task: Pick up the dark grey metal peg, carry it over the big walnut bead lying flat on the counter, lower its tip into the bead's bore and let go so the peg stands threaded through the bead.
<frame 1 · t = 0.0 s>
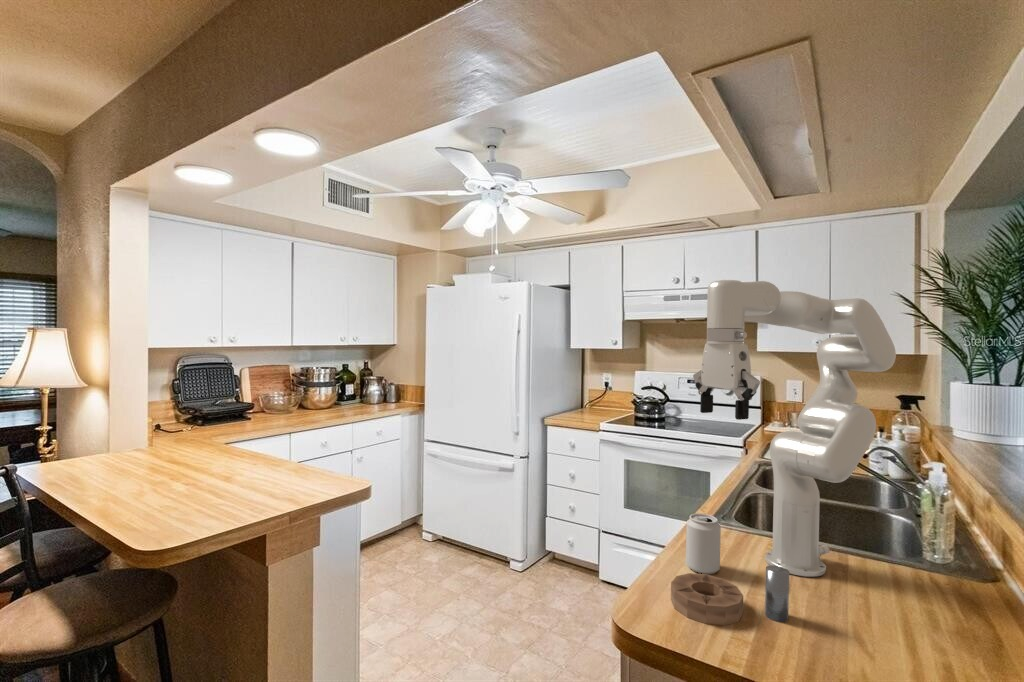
hand: (723, 415, 110), 37 cm above the worktop, tool pointing down, fingers open, 9 cm apart
peg: (776, 616, 97), on the worktop
can: (702, 569, 117), on the worktop
bead: (705, 606, 100), on the worktop
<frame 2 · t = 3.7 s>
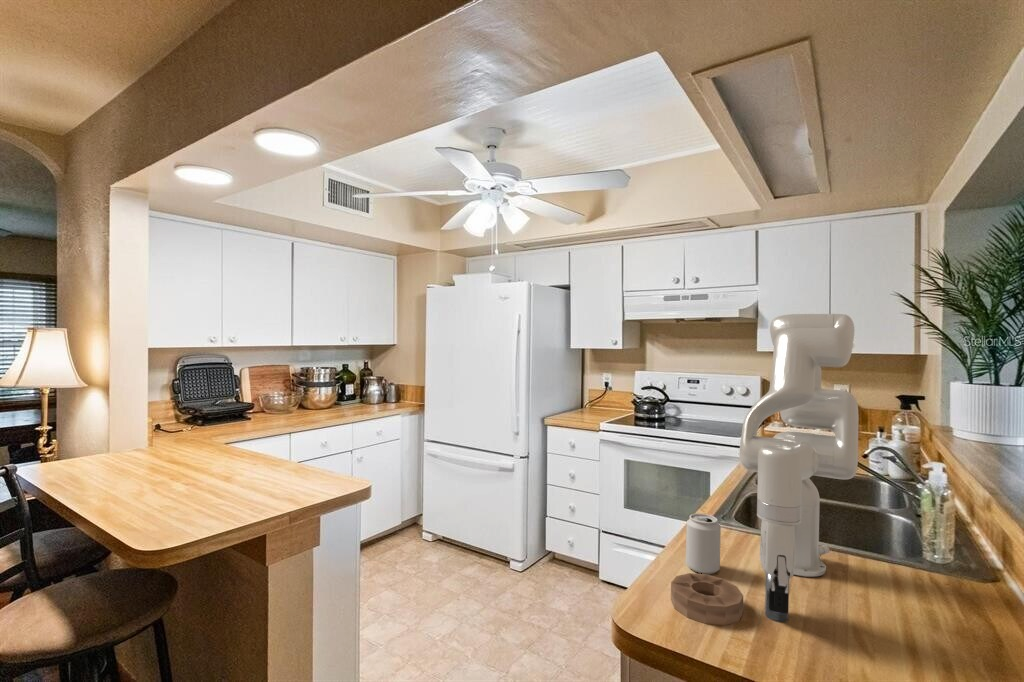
hand: (776, 604, 97), 2 cm above the worktop, tool pointing down, fingers closed on peg, 4 cm apart
peg: (776, 616, 97), on the worktop, touching gripper
everything else where it was.
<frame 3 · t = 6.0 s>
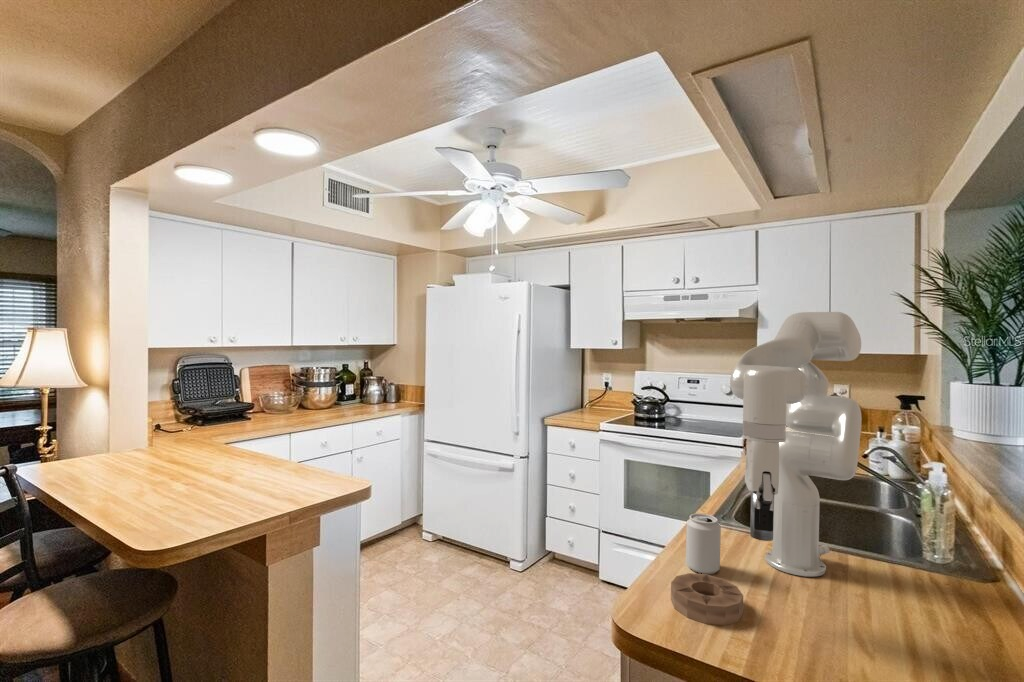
hand: (761, 524, 98), 17 cm above the worktop, tool pointing down, fingers closed on peg, 4 cm apart
peg: (761, 536, 98), point 15 cm above the worktop, touching gripper
everything else where it was.
when the fingers open (4 cm above the worktop, at t = 8.8 s): peg drops 2 cm, resting in bead.
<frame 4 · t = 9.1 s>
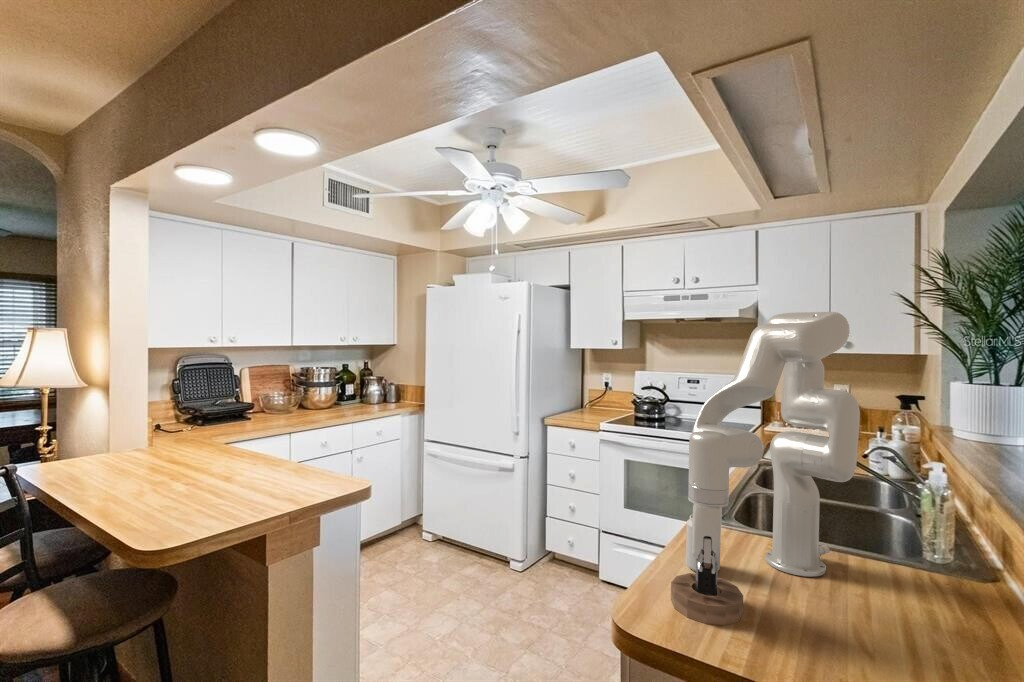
hand: (706, 582, 100), 5 cm above the worktop, tool pointing down, fingers open, 6 cm apart
peg: (706, 606, 100), resting in bead
everything else where it was.
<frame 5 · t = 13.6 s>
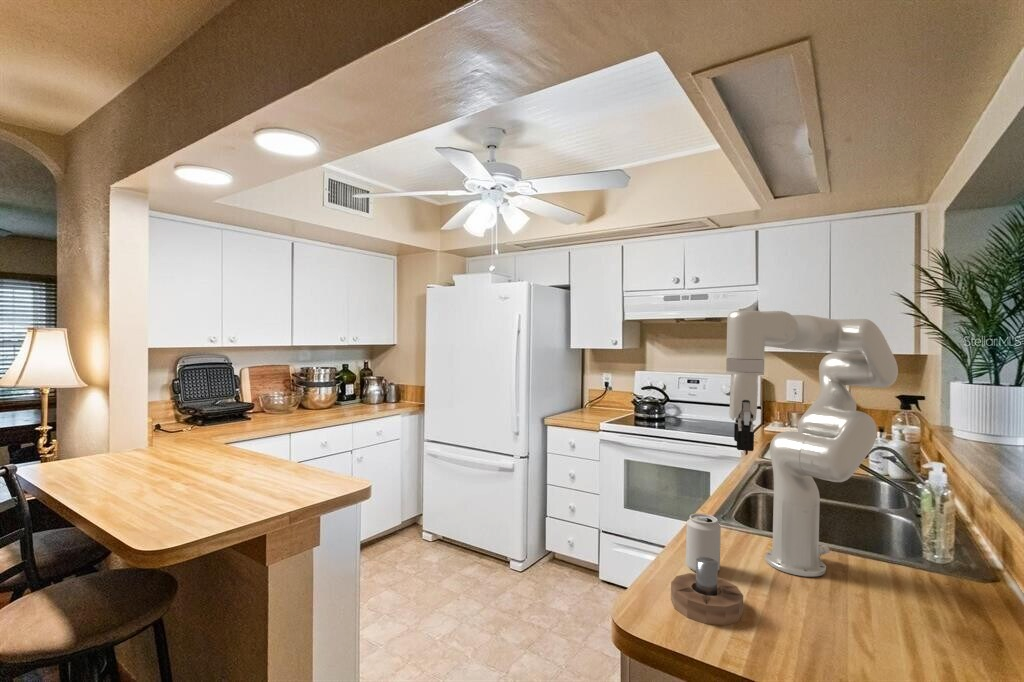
hand: (743, 445, 110), 30 cm above the worktop, tool pointing down, fingers open, 9 cm apart
nothing on the worktop moved.
at the end: peg 0.1 cm off-centre on the bead, point 0.0 cm above the bead's base; peg tilted 0°; the gripper is holding nothing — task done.
